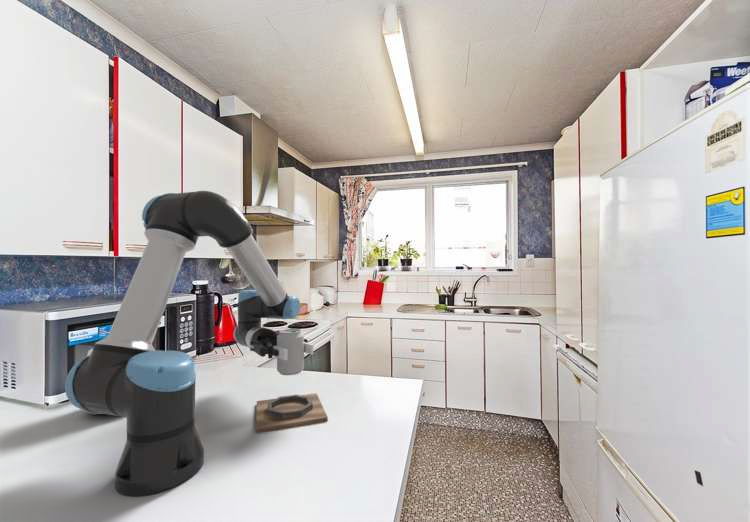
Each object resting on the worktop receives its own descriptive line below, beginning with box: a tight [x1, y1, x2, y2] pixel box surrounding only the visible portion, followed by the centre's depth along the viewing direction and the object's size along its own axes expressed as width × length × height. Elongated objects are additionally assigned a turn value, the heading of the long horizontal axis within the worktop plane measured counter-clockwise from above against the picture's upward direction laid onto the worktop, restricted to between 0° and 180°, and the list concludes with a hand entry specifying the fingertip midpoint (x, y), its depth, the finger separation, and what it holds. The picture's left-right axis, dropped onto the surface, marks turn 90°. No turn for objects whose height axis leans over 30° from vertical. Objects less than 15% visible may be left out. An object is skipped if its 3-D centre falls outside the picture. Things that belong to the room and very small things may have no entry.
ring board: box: [255, 392, 329, 433], centre depth 94 cm, size 18×18×2 cm
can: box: [276, 328, 305, 376], centre depth 94 cm, size 8×8×12 cm
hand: (299, 352), depth 91 cm, fingers closed on can, 7 cm apart
